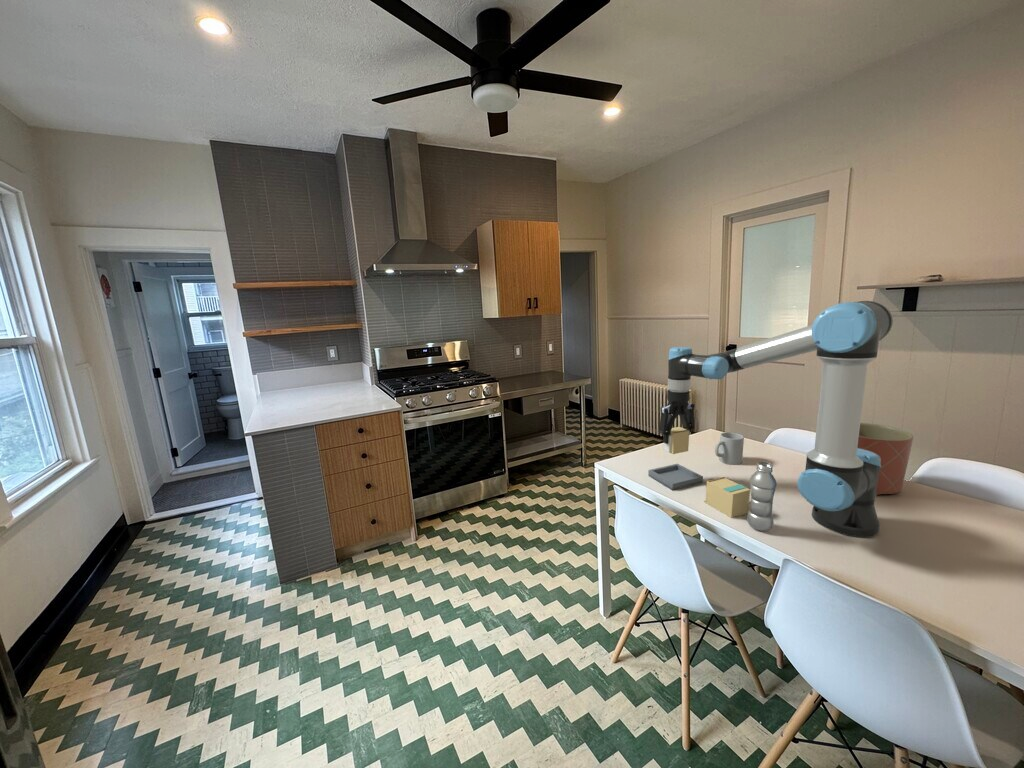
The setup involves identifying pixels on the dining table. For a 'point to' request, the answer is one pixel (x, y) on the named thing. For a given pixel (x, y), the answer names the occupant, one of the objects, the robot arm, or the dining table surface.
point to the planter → (887, 454)
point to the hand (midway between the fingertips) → (675, 449)
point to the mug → (730, 448)
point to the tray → (675, 476)
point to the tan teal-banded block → (727, 496)
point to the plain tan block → (679, 440)
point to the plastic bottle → (762, 497)
